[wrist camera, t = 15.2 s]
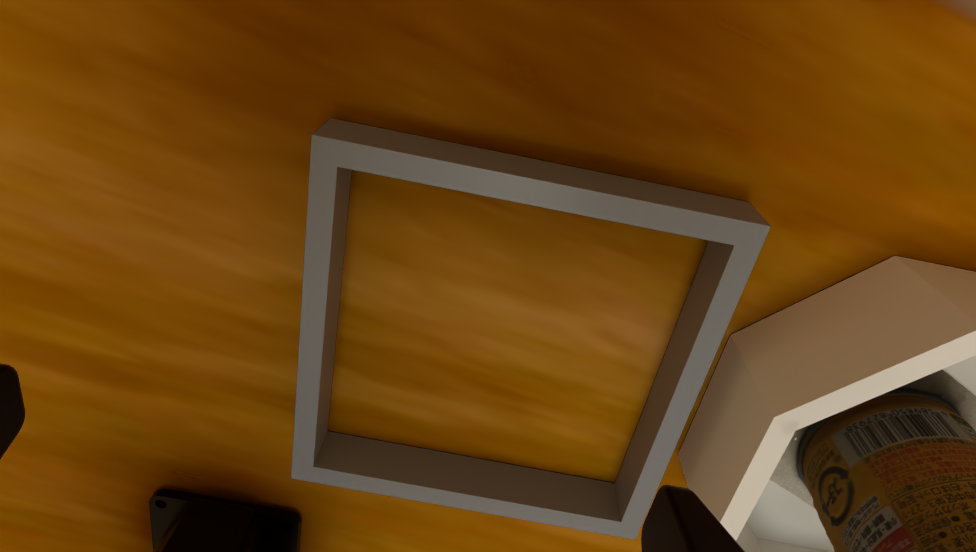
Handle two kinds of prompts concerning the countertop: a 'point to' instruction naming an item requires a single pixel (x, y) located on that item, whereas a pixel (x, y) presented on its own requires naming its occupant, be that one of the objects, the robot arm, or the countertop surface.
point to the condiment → (892, 470)
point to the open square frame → (539, 184)
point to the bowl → (819, 387)
